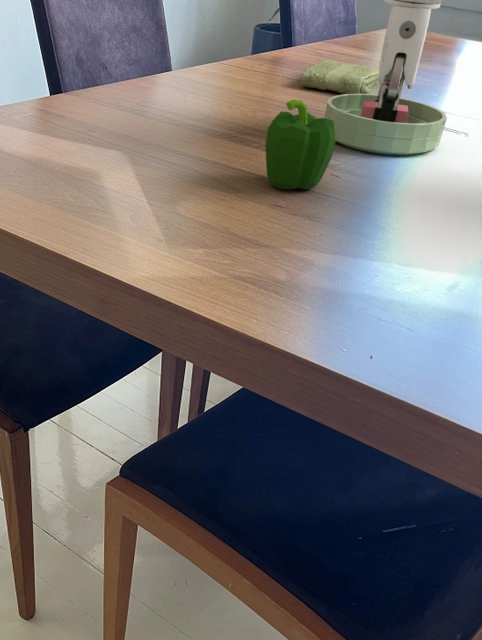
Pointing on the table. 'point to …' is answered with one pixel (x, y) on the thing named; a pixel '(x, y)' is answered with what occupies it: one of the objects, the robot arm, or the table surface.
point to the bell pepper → (298, 148)
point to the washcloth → (340, 77)
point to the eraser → (370, 106)
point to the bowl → (385, 126)
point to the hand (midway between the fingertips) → (379, 131)
